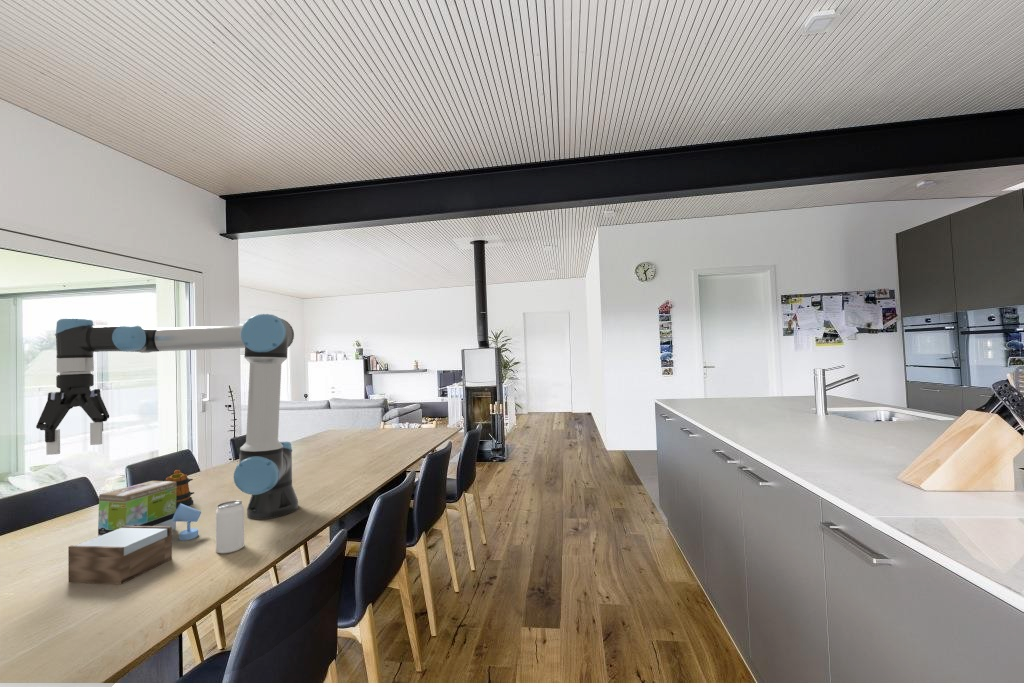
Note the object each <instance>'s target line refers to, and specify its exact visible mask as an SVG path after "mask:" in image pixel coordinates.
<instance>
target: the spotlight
mask: <svg viewBox="0 0 1028 687" xmlns="http://www.w3.org/2000/svg"><path fill="white" fill-rule="evenodd" d="M201 514H202V511H201V510H198V509H196V508H194V507H191V506H186V505H184V504H181V503H180V505H179V506H178V508H177V510H176V512H175V514H174V516H173V519H172V521H176V522H178V523H179V522H182V523H183V522H184V523H185V522H186V523H187V524H186V525H187V526H186V529H184V530H181V531H180V532H179V534H178V539H179V541H188V540H189V541H190V540H192V539H195V538H197V537H199V528H191V523H194V522H195V523H196V522H198V521H199V519H200V516H201Z"/></svg>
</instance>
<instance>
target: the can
mask: <svg viewBox="0 0 1028 687" xmlns="http://www.w3.org/2000/svg"><path fill="white" fill-rule="evenodd" d="M244 546H245V507H244V505H243V501H242V500H230V501H225V502H222V503H220V504H218V505H217V508H216V510H215V551H216V553H218V554H220V555H222V554H223V555H225V554H232V553H234V552H237V551H240V550H242V548H244Z"/></svg>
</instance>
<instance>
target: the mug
mask: <svg viewBox="0 0 1028 687" xmlns="http://www.w3.org/2000/svg"><path fill="white" fill-rule="evenodd" d="M193 480H194V479H193V478H188V475H187V474H185V473H182V472H181V470H180V469H175V470H174V472H173V474H172V475H170V476H167V477H166V478H165V481H171V482H176V487H177V488H176V510H177V508H178V506H179V505H180V503H181V504H184V505H186V506H189V507H191V506H193V504H194V500H193V497H192V495H194V494H195V492H193V491H190V486H189V483H190V482H191V481H193Z"/></svg>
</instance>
